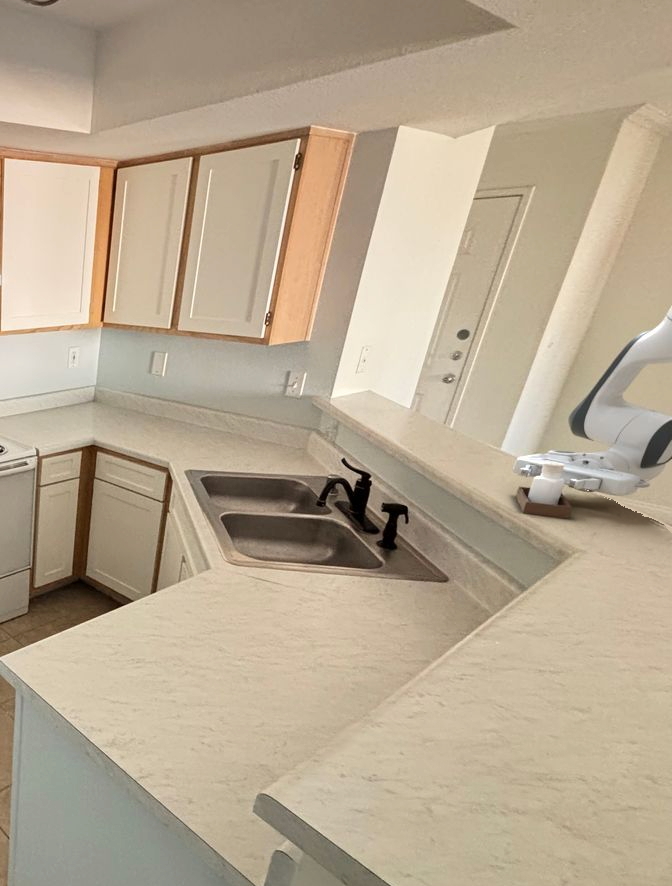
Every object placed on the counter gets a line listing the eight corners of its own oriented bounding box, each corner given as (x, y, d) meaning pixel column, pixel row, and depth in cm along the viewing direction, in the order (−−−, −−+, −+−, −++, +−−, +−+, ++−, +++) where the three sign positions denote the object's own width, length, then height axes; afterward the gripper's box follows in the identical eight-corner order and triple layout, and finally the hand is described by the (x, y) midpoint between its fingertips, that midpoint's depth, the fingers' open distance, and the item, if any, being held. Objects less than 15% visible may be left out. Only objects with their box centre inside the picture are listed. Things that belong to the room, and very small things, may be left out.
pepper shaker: (545, 508, 128) (559, 466, 125) (524, 503, 131) (536, 462, 128) (558, 506, 129) (572, 464, 126) (536, 501, 132) (549, 460, 129)
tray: (515, 496, 137) (518, 486, 136) (557, 501, 133) (560, 491, 132) (522, 512, 127) (526, 501, 127) (568, 518, 123) (571, 507, 123)
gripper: (650, 499, 122) (602, 506, 119) (536, 473, 141) (492, 479, 138) (661, 470, 120) (612, 476, 117) (544, 448, 139) (500, 453, 136)
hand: (546, 478), depth 128 cm, fingers open, 8 cm apart
